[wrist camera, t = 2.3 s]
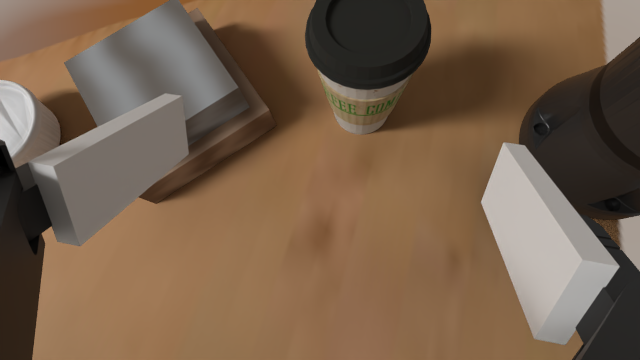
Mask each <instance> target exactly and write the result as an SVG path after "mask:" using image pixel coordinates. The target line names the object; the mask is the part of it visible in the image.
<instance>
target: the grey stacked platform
mask: <svg viewBox="0 0 640 360" xmlns="http://www.w3.org/2000/svg"><path fill="white" fill-rule="evenodd" d="M64 64H65V66H66V67H67V69H68V71H69V73H70V75H71V77H72V79H73V81H74V83H75V85H76V86H77V88H78V90H79V92H80V94H81V96H82V98H83V100H84V102H85V104H86V106H87V107H88V109H89V111H90V113H91V115H92V117H93V119H94V121H95V123H96V125H97V126H98V127H99V126H101V125H103V124H105V123H107V122H109V121H111V120H113V119H115V118H117V117H119V116H121V115H123V114H125V113H127V112H129V111H131V110H133V109H135V108H137V107H139V106H141V105H143V104H145V103H147V102H149V101H151V100H153V99H155V98H157V97H159V96H161V95H163V94H165V93H166V94H173V95H180V96H182V98H183V107H184V116H185V124H186V133H187V142H188V151H189V154H188V155H187V156H186V157H185V158H184V159H182V160H181V161H180V162H179V163H178V164H177V165H175V166H174V167H173V168H172V169H171V170H169V171H168V172H167V173H166V174H165V175H164V176H162V177H161V178H160V179H159V180H158V181H157V182H155V183H154V184H153V185H152V186H151V187H149V188H148V189H147V190H146V191H145V192H144V193H142V194H141V195H140V196H139V197H140V198H142V199H145V200H147V201H150V202H153V203H155V204H156V203H158V202H159V201H161V200H162V199H164V198H165V197H167V196H168V195H170V194H172V193H173V192H175V191H176V190H178V189H179V188H181V187H182V186H184V185H186V184H187V183H189V182H190V181H192V180H193V179H195V178H196V177H198V176H199V175H201V174H203V173H204V172H206V171H207V170H209V169H210V168H212V167H213V166H215V165H216V164H218V163H220V162H221V161H223V160H224V159H226V158H227V157H229V156H230V155H232V154H234V153H235V152H237V151H238V150H240V149H241V148H243V147H244V146H246V145H247V144H249V143H251V142H252V141H254V140H255V139H257V138H258V137H260V136H261V135H263V134H264V133H266V132H268V131H269V130H271V129H272V128H274V127H275V126H277V125H276V123H275V121H274V119H273V117H272V115H271V113H270V110H269V109H268V107H267V106H266V105H265V103H264V102H263V100H262V99H261V97H260V96H259V95H258V93H257V92H256V90H255V89H254V87H253V86H252V85H251V83H250V82H249V80H248V79H247V78H246V76H245V75H244V73H243V72H242V70H241V69H240V68H239V66H238V65H237V63H236V62H235V60H234V59H233V58H232V56H231V55H230V53H229V52H228V51H227V49H226V48H225V46H224V45H223V43H222V42H221V41H220V39H219V38H218V36H217V35H216V33H215V32H214V31H213V29H212V28H211V26H210V25H209V23H208V22H207V21H206V19H205V18H204V16H203V15H202V14H201V12H200V11H199V9H198V8H196V9H194V10H193V11H191V12H189V13H187V12H186V10H185V9H184V8H183V6H182V5H181V3H180V2H179V0H169V1H168V2H166V3H164V4H163V5H161V6H159V7H157V8H156V9H154V10H152V11H151V12H149V13H147V14H146V15H144V16H142V17H141V18H139V19H137V20H135V21H134V22H132V23H130V24H129V25H127V26H125V27H124V28H122V29H120V30H119V31H117V32H115V33H113V34H112V35H110V36H108V37H107V38H105V39H103V40H102V41H100V42H98V43H97V44H95V45H93V46H91V47H90V48H88V49H86V50H85V51H83V52H81V53H80V54H78V55H76V56H75V57H73V58H71V59H69V60H68V61H66V62H64Z"/></svg>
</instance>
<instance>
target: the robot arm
mask: <svg viewBox="0 0 640 360" xmlns="http://www.w3.org/2000/svg"><path fill="white" fill-rule="evenodd" d="M188 154H189V151H188V142H187V133H186V124H185V116H184V107H183V98H182V96H180V95H173V94H166V93H165V94H163V95H161V96H159V97H157V98H155V99H153V100H151V101H149V102H147V103H145V104H143V105H141V106H139V107H137V108H135V109H133V110H131V111H129V112H127V113H125V114H123V115H121V116H119V117H117V118H115V119H113V120H111V121H109V122H107V123H105V124H103V125H101V126H99V127H97V128H95V129H93V130H91V131H89V132H87V133H85V134H83V135H81V136H79V137H77V138H75V139H73V140H70V141H68V142H66V143H64V144H62V145H60V146H58V147H56V148H54V149H52V150H50V151H48V152H46V153H44V154H42V155H40V156H38V157H36V158H34V159H32V160H30V161H28V162H27V163H25V164H23V165H21V166H19V167H17V168H15V166H14V163H13V161H12V158H11V156H10V153H9V151H8V148H7V146H6V143H5V141H3V140H0V360H32V355H33V346H34V337H35V328H36V319H37V310H38V301H39V292H40V283H41V275H42V266H43V257H44V248H45V242H44V239H43V236H42V234H41V233H42V232H44V231H45V230H47V229H48V228H49V227H51V226H52V228H53V231H54V234H55V236H56V239H57V242H61V243H66V244H71V245H76V246H81V245H82V244H83V243H85V242H86V241H87V240H88V239H89V238H91V237H92V236H93V235H94V234H95V233H96V232H98V231H99V230H100V229H101V228H102V227H103V226H105V225H106V224H107V223H108V222H109V221H111V220H112V219H113V218H114V217H115V216H116V215H118V214H119V213H120V212H121V211H122V210H124V209H125V208H126V207H127V206H128V205H129V204H131V203H132V202H133V201H134V200H135V199H136V198H138V197H139V196H140V195H141V194H142V193H144V192H145V191H146V190H147V189H148V188H149V187H151V186H152V185H153V184H154V183H155V182H157V181H158V180H159V179H160V178H161V177H162V176H164V175H165V174H166V173H167V172H168V171H169V170H171V169H172V168H173V167H174V166H175V165H177V164H178V163H179V162H180V161H181V160H182V159H184V158H185V157H186V156H187V155H188ZM481 203H482V206H483V208H484V211H485V214H486V216H487V219H488V221H489V224H490V226H491V229H492V232H493V234H494V237H495V239H496V242H497V244H498V247H499V250H500V252H501V255H502V257H503V260H504V262H505V265H506V268H507V270H508V273H509V275H510V278H511V280H512V283H513V285H514V288H515V291H516V293H517V296H518V298H519V301H520V303H521V306H522V309H523V311H524V314H525V316H526V319H527V321H528V324H529V327H530V329H531V332H532V334H533V337H534V339H538V340H543V341H548V342H553V343H557V344H562V345H566V343H567V342H568V341H569V339H570V338H571V336H572V335H573V333H574V332H575V330H577V332H578V334H579V336H580V337H581V339H582V341H583V343H584V344H583V345H582V347H581V348H580V349H579V351H578V352H577V353H576V355H575V356H574V357H573V359H572V360H640V271H639V270H638V269H637V268H636V266H634V264H633V263H632V262H631V261H630V259H629V258H628V257H627V256H626V255H625V253H624V252H623V251H622V250H620V247H619V246H618V245H617V244H616V243H615V241H614V240H611V239H612V238H611V237H610V236H609V234H608V233H607V232H606V231H605V230H604V228H603V227H602V226H601V225H599V224H598V223H596V222H595V221H594V220H592V219H591V218H594V219H602V220H616V219H624V218H629V217H634V216H638V215H640V37H639V38H638V39H637V40H636V41H635V42H633V43H632V44H631V45H630V46H628V47H627V48H626V49H625V50H624V51H623V52H621V53H620V54H619V55H618V56H617V57H615V59H613V60H612V61H610V62H609V63H608V64H607V65H604V66H601V67H599V68H596V69H593V70H590V71H588V72H585V73H582V74H579V75H576V76H574V77H571V78H568V79H566V80H564V81H562V82H560V83H558V84H556V85H555V86H553V87H552V88H550V89H549V90H548V91H547V92H545V93H544V94H543V95H542V96H541V97H540V98H539V99H538V100H537V101H536V102H535V103H534V104H533V105H532V106H531V107H530V109H529V110H528V112H527V113H526V115H525V117H524V119H523V122H522V125H521V129H520V135H519V145H518V144H512V143H505V142H504V143H503V145H502V148H501V151H500V153H499V156H498V158H497V161H496V164H495V166H494V169H493V172H492V174H491V177H490V180H489V182H488V185H487V188H486V190H485V193H484V196H483V198H482V201H481Z"/></svg>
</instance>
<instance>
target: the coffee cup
mask: <svg viewBox="0 0 640 360" xmlns="http://www.w3.org/2000/svg"><path fill="white" fill-rule="evenodd" d="M305 41H306V48H307V51H308V55H309V57H310V59H311V60H312V62H313V64H314V66H315V67H316V68H317V70H318V73H319V76H320V79H321V82H322V84H323V87H324V90H325V93H326V96H327V98H328V101H329V104H330V106H331V108H332V110H333V112H334V115H335V118H336V120H337V122H338V123H339V125H340V126H341V127H342V128H344V129H345V130H346V131H349V132H351V133H354V134H368V133H372V132H374V131H376V130H377V129H379V128H380V127H381V126H382V125H383V124H384V122H385V121H386V119H387V117H388V115H389V114H390V113H391V112H392V110H393V109H394V107H395V105H396V103H397V101H398V100H399V98H400V96H401V94H402V92H403V91H404V89H405V87H406V85H407V83H408V82H409V80H410V78H411V76H412V74H413V73H414V72H415V71H416V70H417V68H418V67H419V66H420V65H421V64H422V62H423V61H424V59H425V57H426V55H427V53H428V50H429V46H430V43H431V23H430V18H429V15H428V12H427V10H426V5H425V3H424V1H423V0H316V2H315V5H314V7H313V9H312V10H311V13H310V15H309V18H308V20H307V25H306V32H305Z"/></svg>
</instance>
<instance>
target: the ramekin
mask: <svg viewBox="0 0 640 360" xmlns="http://www.w3.org/2000/svg"><path fill="white" fill-rule="evenodd" d="M60 138H61V133H60V125H59V123H58V120H57V118H56V117H55V115H54V114H53V113H52V112H51V111H50V110H49V109H48V108H47V107H46V106H45V105H43V104H42V103H41V102H40V101H39V100H38V99H37V98H36V97H35V95H34V94H33V93H32V92H31V91H30V90H28V89H27V88H25V87H23V86H22V85H20V84H18V83H15V82H12V81H7V80H0V140H3V141H5V143H6V146H7V148H8V151H9V153H10V156H11V158H12V161H13V163H14V166H15V168H17V167H19V166H21V165H23V164H25V163H27V162H28V161H30V160H32V159H34V158H36V157H38V156H40V155H42V154H44V153H46V152H48V151H50V150H52V149H54V148H56V147H58V146H59V143H60Z"/></svg>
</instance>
